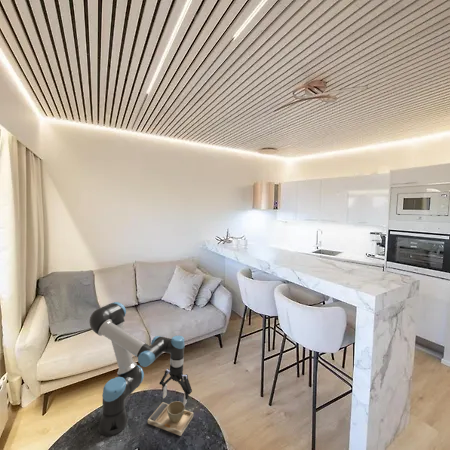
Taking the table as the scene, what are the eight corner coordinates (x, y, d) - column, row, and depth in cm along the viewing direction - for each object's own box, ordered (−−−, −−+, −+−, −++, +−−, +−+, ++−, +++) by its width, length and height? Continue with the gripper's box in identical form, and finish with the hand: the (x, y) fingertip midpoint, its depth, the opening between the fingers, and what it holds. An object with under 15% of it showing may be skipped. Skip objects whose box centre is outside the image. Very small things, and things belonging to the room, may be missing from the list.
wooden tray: (147, 423, 139) (147, 418, 138) (162, 405, 152) (162, 401, 152) (180, 436, 131) (180, 431, 131) (193, 416, 145) (193, 411, 145)
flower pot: (163, 424, 137) (164, 412, 137) (171, 411, 147) (171, 399, 147) (180, 428, 135) (180, 416, 135) (186, 414, 145) (187, 403, 145)
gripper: (154, 362, 141) (152, 398, 142) (193, 373, 132) (190, 412, 133) (162, 355, 148) (160, 389, 149) (199, 366, 140) (197, 402, 140)
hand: (174, 400), depth 141 cm, fingers open, 13 cm apart
